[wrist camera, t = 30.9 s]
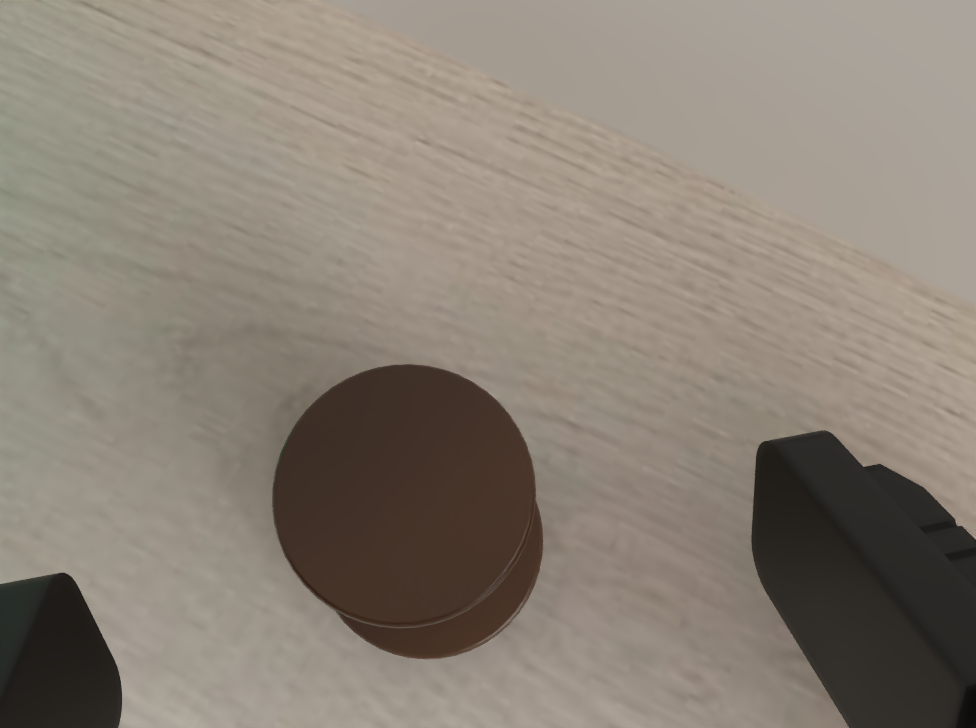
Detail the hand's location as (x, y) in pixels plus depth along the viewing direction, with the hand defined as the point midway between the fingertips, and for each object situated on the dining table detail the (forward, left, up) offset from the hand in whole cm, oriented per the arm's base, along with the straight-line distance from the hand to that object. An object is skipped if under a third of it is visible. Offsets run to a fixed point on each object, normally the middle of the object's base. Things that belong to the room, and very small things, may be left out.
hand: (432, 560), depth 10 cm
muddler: (+1, 0, -8) cm, 8 cm away
